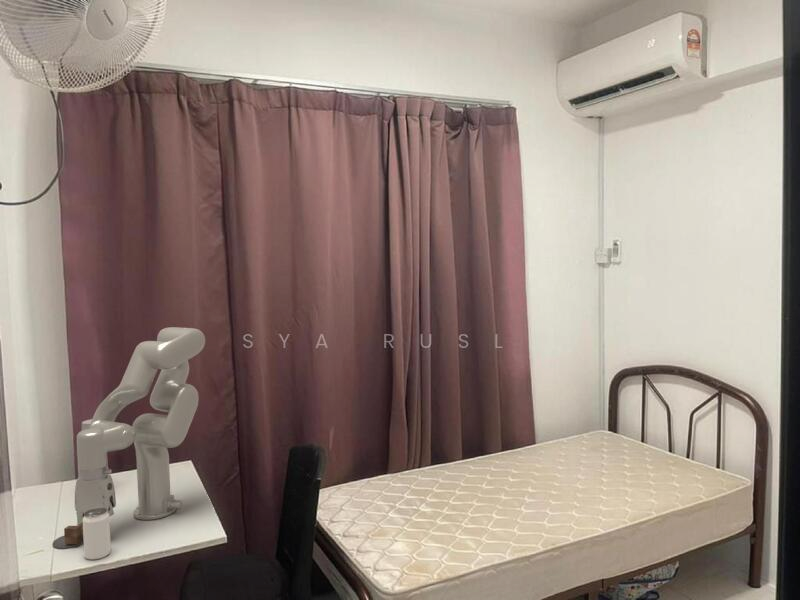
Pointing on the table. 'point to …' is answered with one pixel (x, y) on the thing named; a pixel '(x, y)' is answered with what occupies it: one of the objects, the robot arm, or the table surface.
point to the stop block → (79, 519)
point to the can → (96, 534)
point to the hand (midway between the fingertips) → (96, 535)
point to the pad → (60, 543)
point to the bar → (73, 534)
